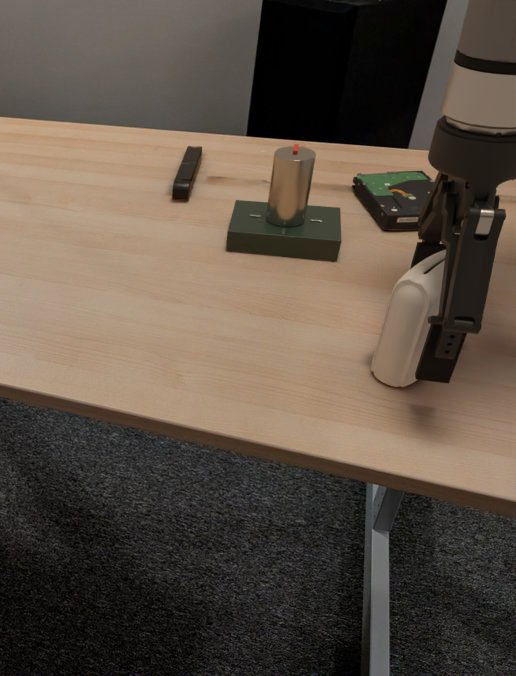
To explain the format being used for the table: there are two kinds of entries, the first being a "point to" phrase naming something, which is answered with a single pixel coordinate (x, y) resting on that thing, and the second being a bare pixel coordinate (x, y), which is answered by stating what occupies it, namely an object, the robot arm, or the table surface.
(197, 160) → the black bar
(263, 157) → the table surface
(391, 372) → the photo printer
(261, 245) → the green base plate
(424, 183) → the disk drive
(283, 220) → the dial
